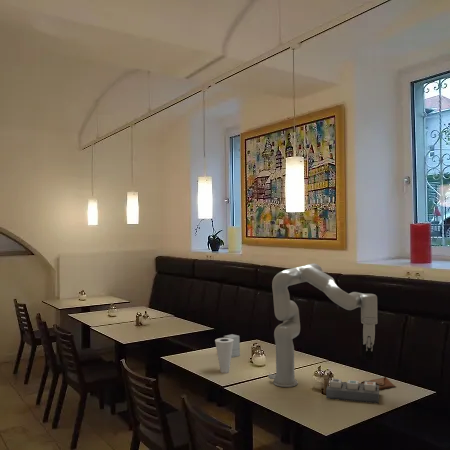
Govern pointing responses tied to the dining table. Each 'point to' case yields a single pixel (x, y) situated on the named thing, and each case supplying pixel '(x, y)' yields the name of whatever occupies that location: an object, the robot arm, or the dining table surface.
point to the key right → (370, 386)
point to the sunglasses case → (382, 383)
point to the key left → (336, 383)
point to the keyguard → (353, 394)
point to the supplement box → (235, 345)
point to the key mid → (352, 384)
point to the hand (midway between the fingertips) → (369, 357)
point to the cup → (224, 353)
